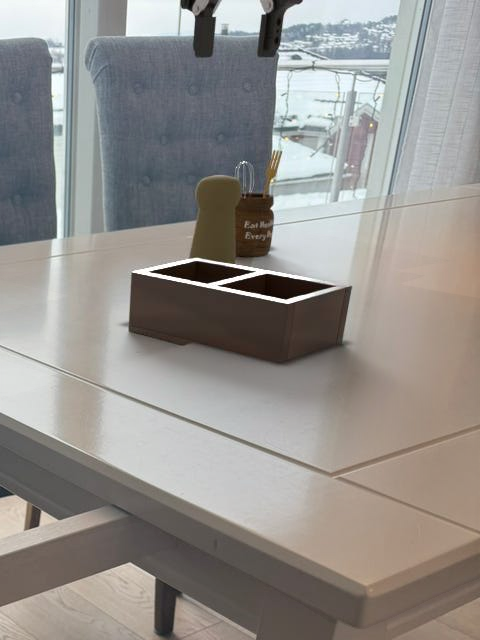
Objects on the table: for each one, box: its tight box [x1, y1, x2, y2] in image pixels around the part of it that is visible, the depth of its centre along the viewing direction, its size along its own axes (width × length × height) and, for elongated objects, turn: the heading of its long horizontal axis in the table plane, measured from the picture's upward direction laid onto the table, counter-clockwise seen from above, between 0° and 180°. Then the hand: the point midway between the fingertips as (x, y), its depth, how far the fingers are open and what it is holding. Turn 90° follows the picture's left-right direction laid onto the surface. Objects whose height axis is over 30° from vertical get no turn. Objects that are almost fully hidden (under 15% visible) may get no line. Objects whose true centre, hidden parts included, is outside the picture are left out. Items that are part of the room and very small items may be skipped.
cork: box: [187, 174, 243, 265], centre depth 109 cm, size 6×6×11 cm
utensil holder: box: [234, 149, 283, 258], centre depth 121 cm, size 6×6×12 cm
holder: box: [127, 258, 353, 364], centre depth 88 cm, size 10×18×6 cm, turn 40°
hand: (233, 57), depth 99 cm, fingers open, 8 cm apart
